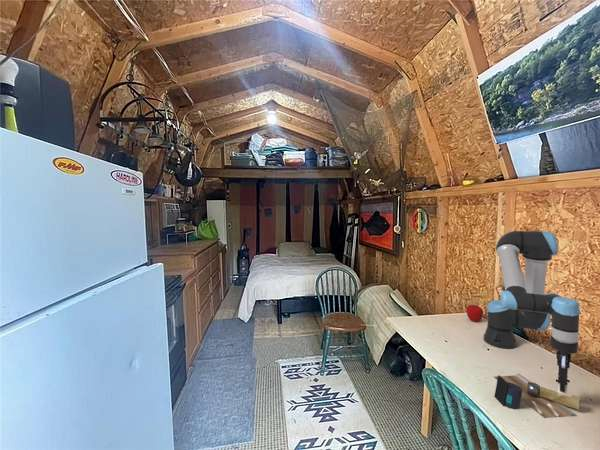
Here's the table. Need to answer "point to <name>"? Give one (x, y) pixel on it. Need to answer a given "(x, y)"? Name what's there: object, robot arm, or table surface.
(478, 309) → the apple
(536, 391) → the latch bar
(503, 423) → the table surface
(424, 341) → the table surface
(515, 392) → the speaker
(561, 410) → the plate
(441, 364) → the table surface
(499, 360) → the table surface
